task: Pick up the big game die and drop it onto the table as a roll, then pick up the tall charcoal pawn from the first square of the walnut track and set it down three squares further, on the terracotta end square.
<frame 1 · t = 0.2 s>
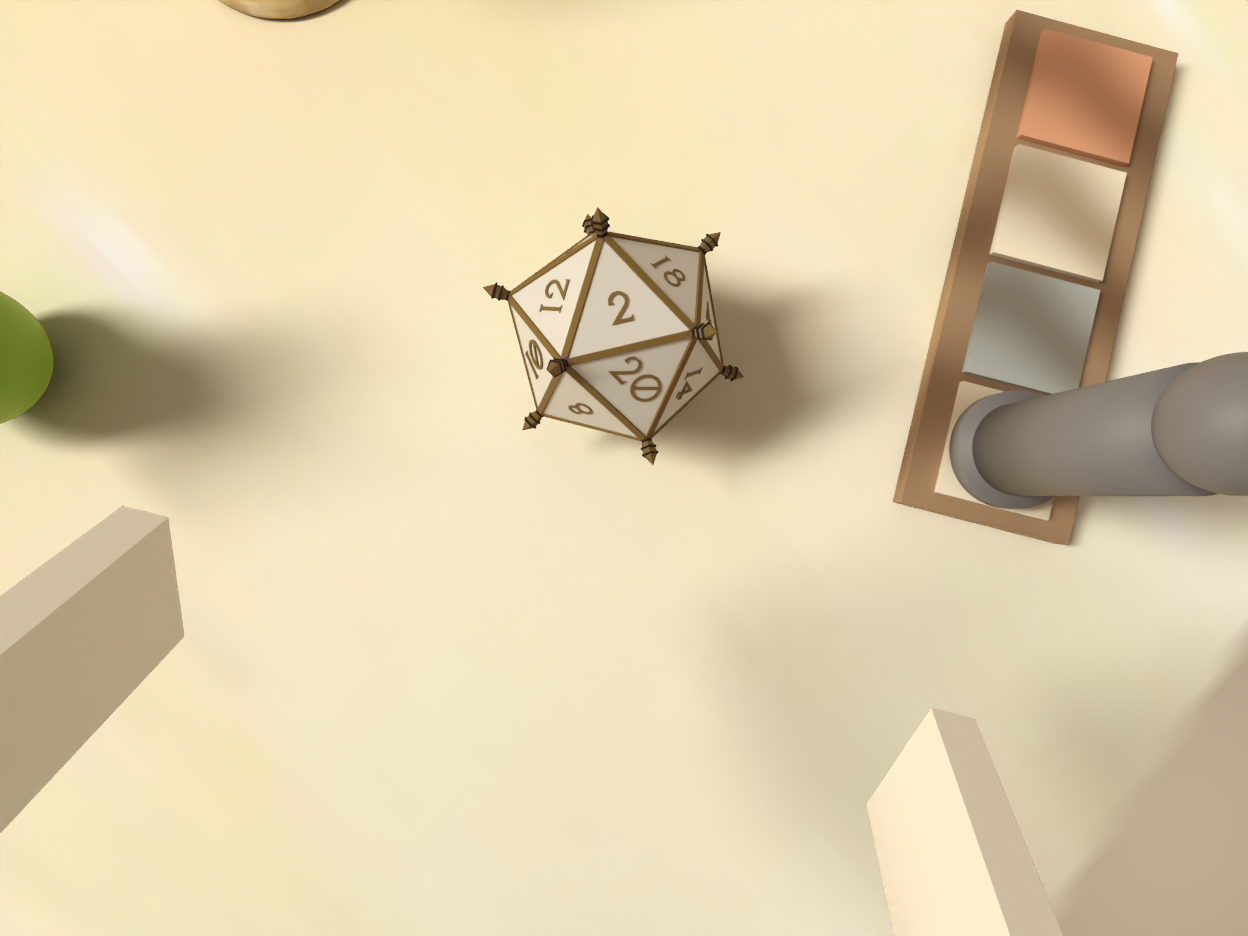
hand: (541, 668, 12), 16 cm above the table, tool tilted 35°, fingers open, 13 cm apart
snail figurine: (21, 381, 28), on the table
track: (1030, 279, 29), on the table
pawn: (1005, 450, 28), point 1 cm above the table, touching track
game die: (616, 357, 29), on the table
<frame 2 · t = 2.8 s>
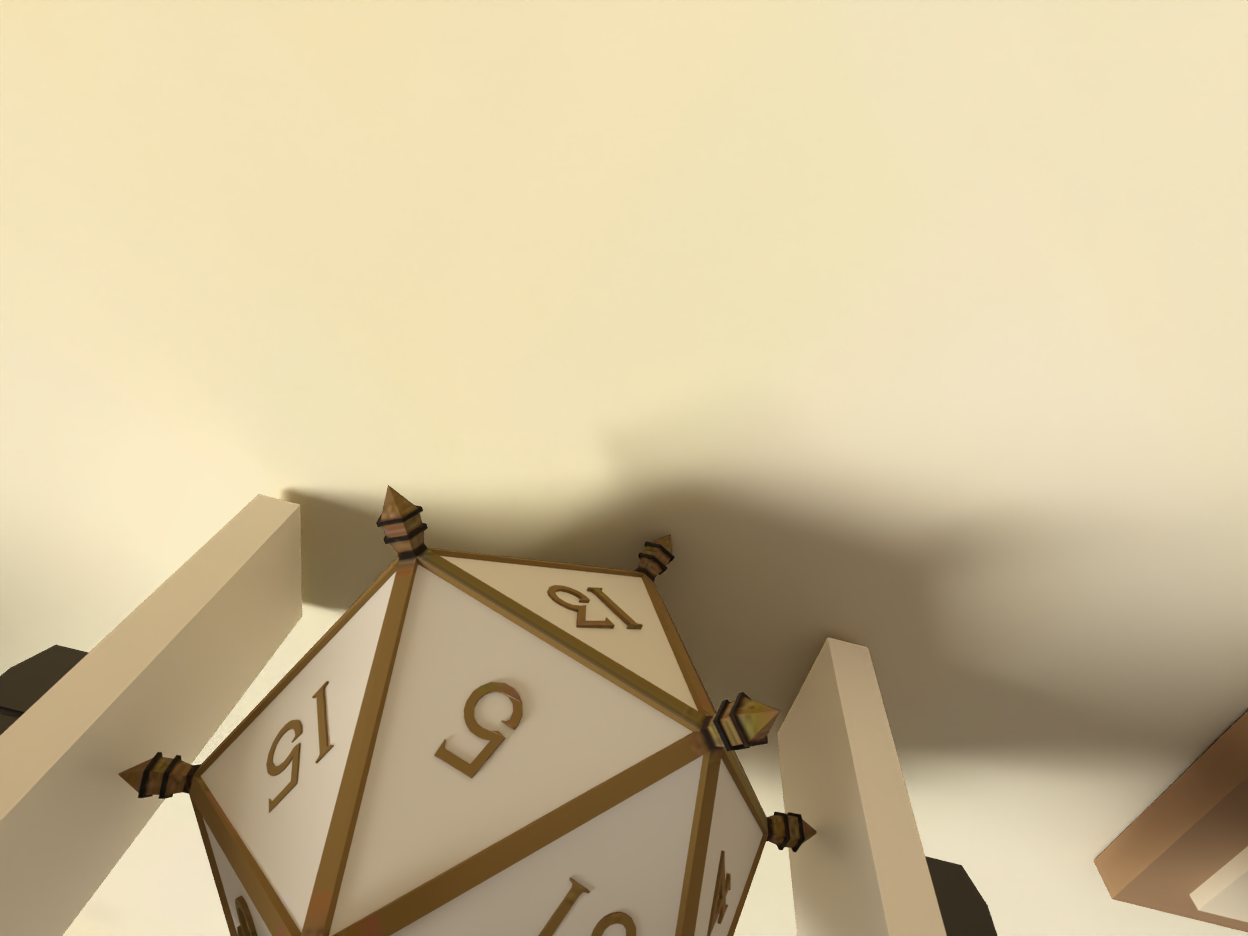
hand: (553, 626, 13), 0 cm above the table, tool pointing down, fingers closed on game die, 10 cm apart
game die: (557, 611, 13), on the table, touching gripper
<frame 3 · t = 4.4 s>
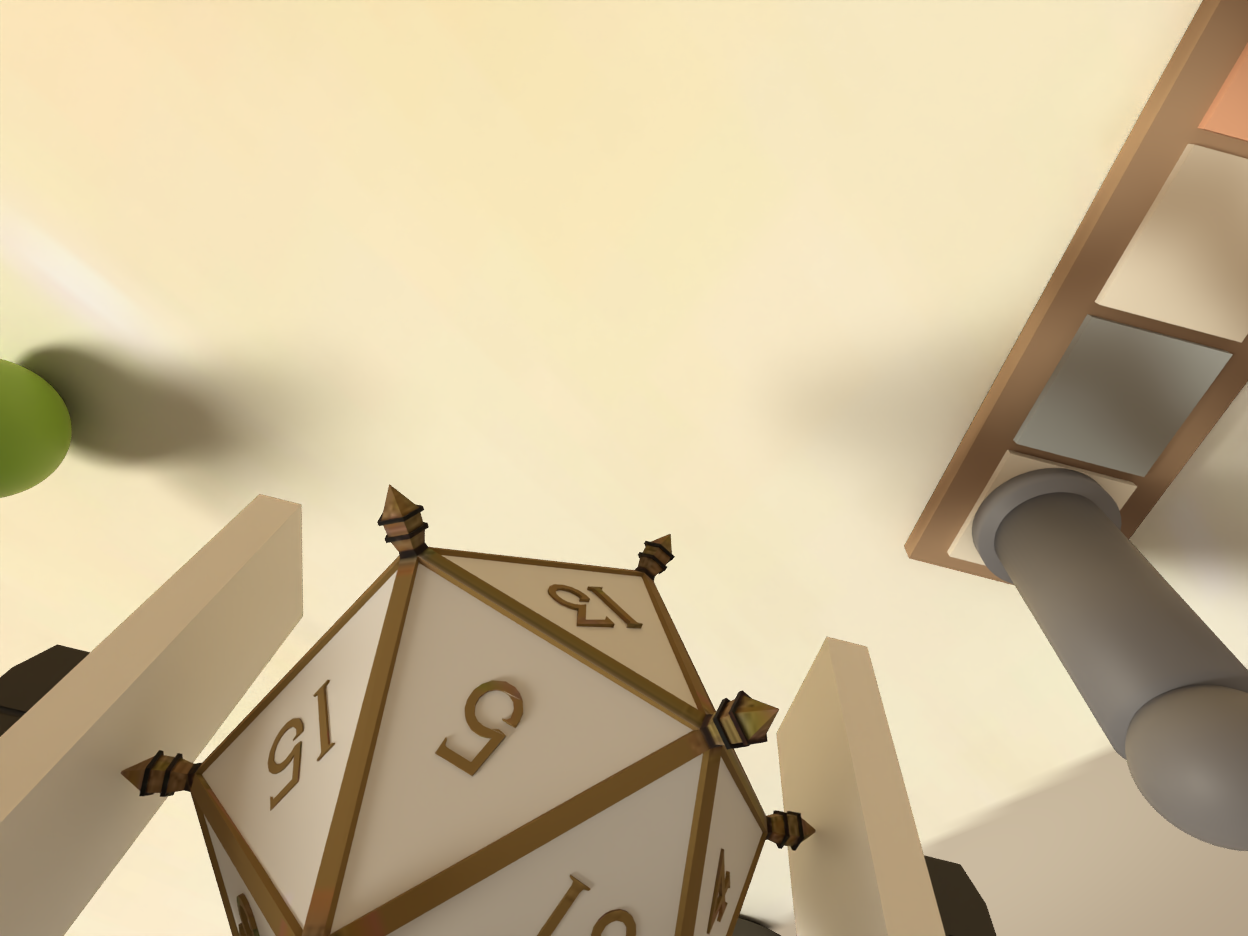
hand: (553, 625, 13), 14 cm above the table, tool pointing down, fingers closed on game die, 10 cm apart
snail figurine: (47, 408, 29), on the table
track: (1147, 319, 22), on the table
pawn: (1039, 523, 25), point 1 cm above the table, touching track
game die: (557, 610, 13), point 13 cm above the table, touching gripper
when the fingers open (6 cm above the table, at t = 5.9 s): game die drops 6 cm, on the table.
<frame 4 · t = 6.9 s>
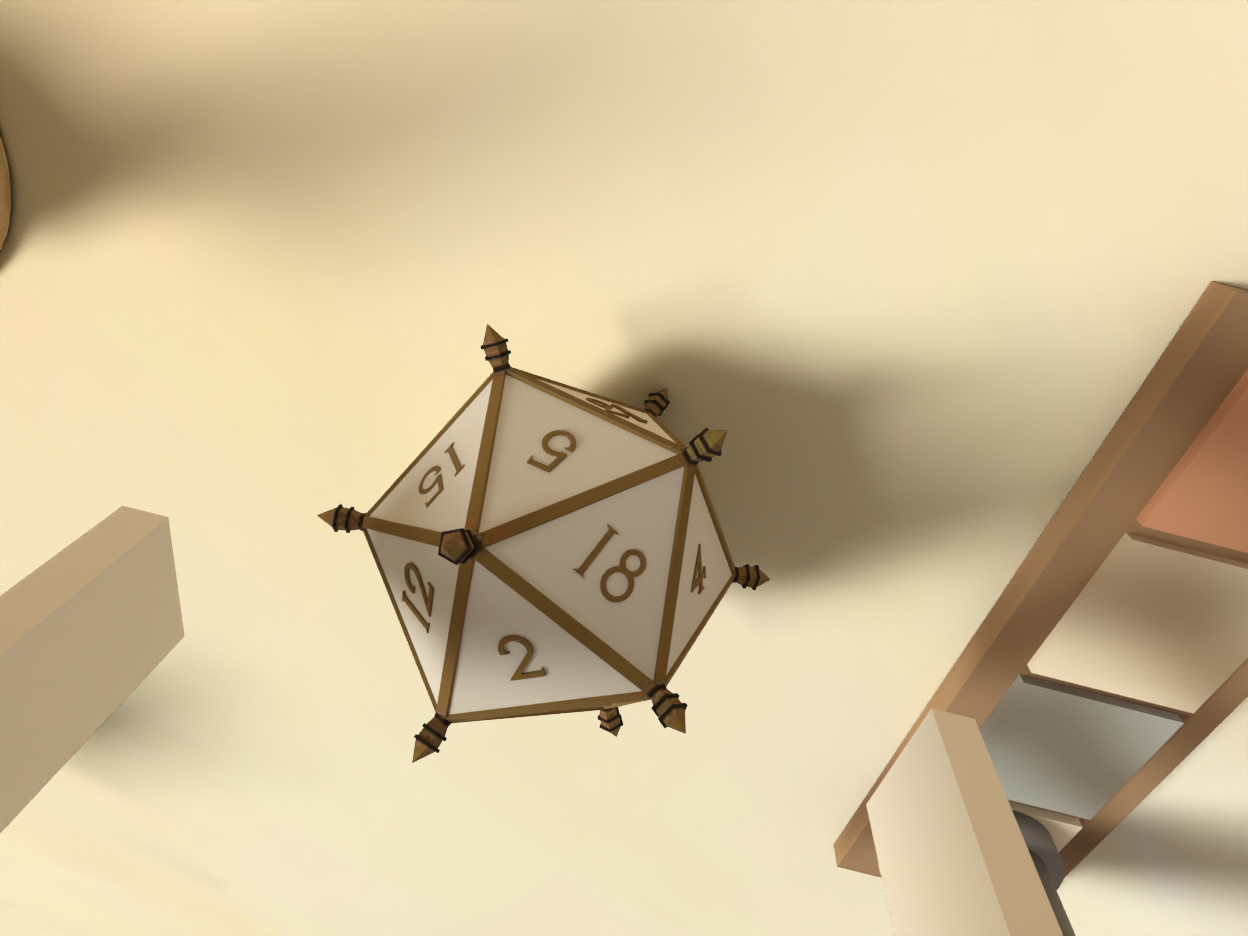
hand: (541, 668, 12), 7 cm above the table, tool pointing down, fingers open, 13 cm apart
track: (1089, 668, 20), on the table
pawn: (976, 851, 23), point 1 cm above the table, touching track
game die: (587, 457, 18), on the table
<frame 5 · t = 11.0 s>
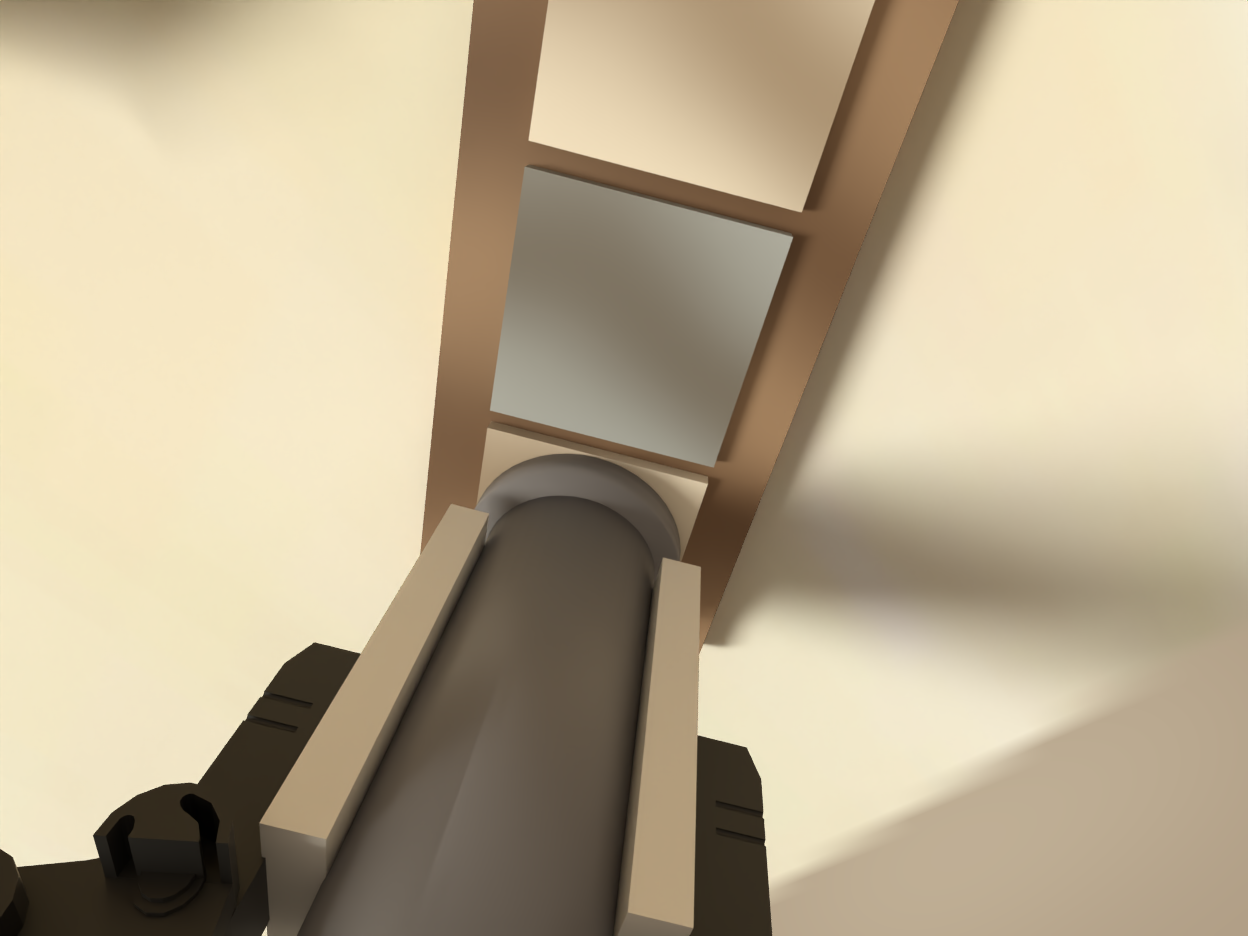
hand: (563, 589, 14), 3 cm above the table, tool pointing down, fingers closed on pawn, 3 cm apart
track: (666, 180, 12), on the table
pawn: (575, 546, 15), point 1 cm above the table, touching gripper
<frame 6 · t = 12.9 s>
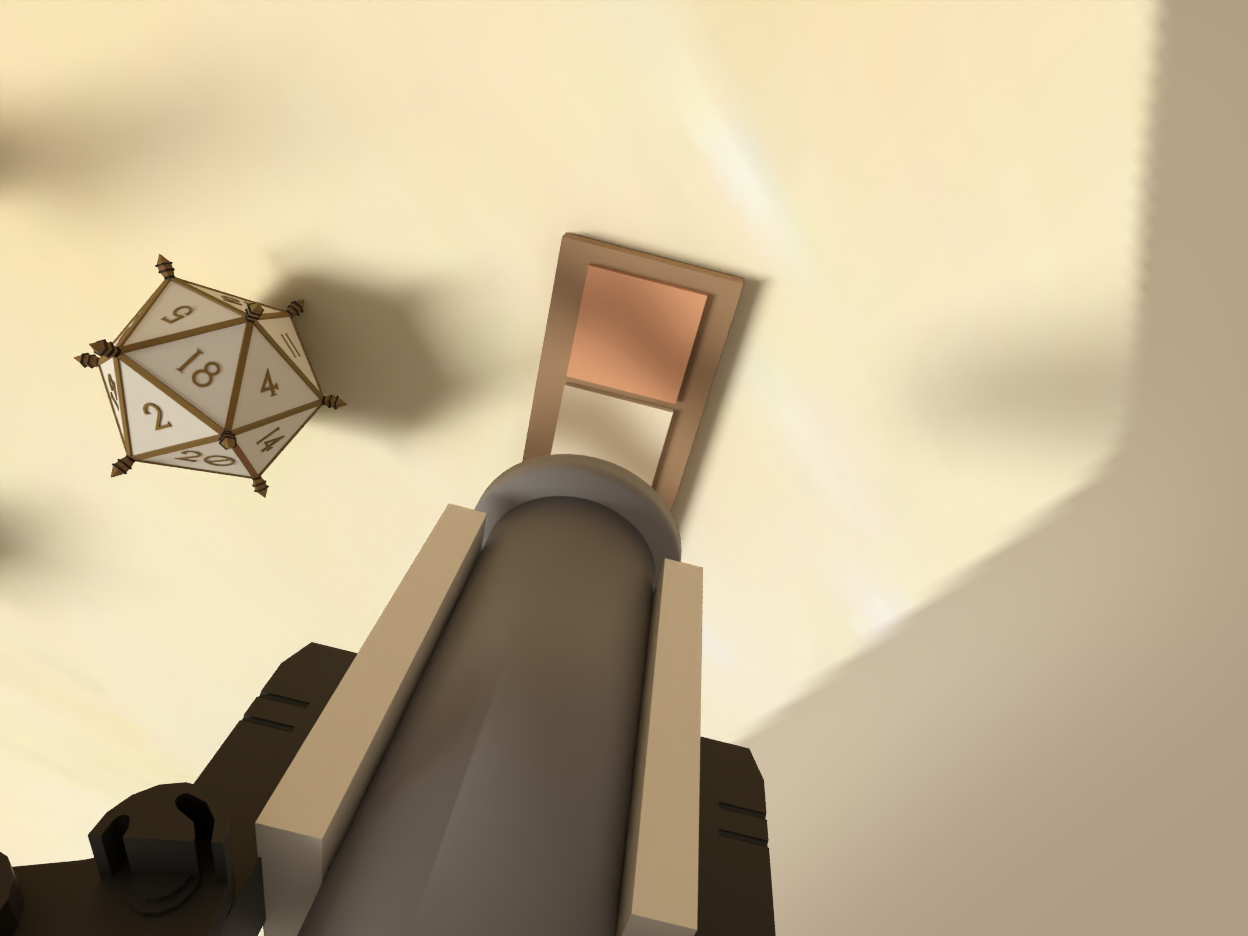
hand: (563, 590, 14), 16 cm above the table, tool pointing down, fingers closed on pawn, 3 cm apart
track: (598, 481, 32), on the table
pawn: (575, 546, 15), point 15 cm above the table, touching gripper
game die: (272, 346, 31), on the table
when the fingers open (4 cm above the table, at t = 15.3 s): pawn drops 2 cm, resting on track.
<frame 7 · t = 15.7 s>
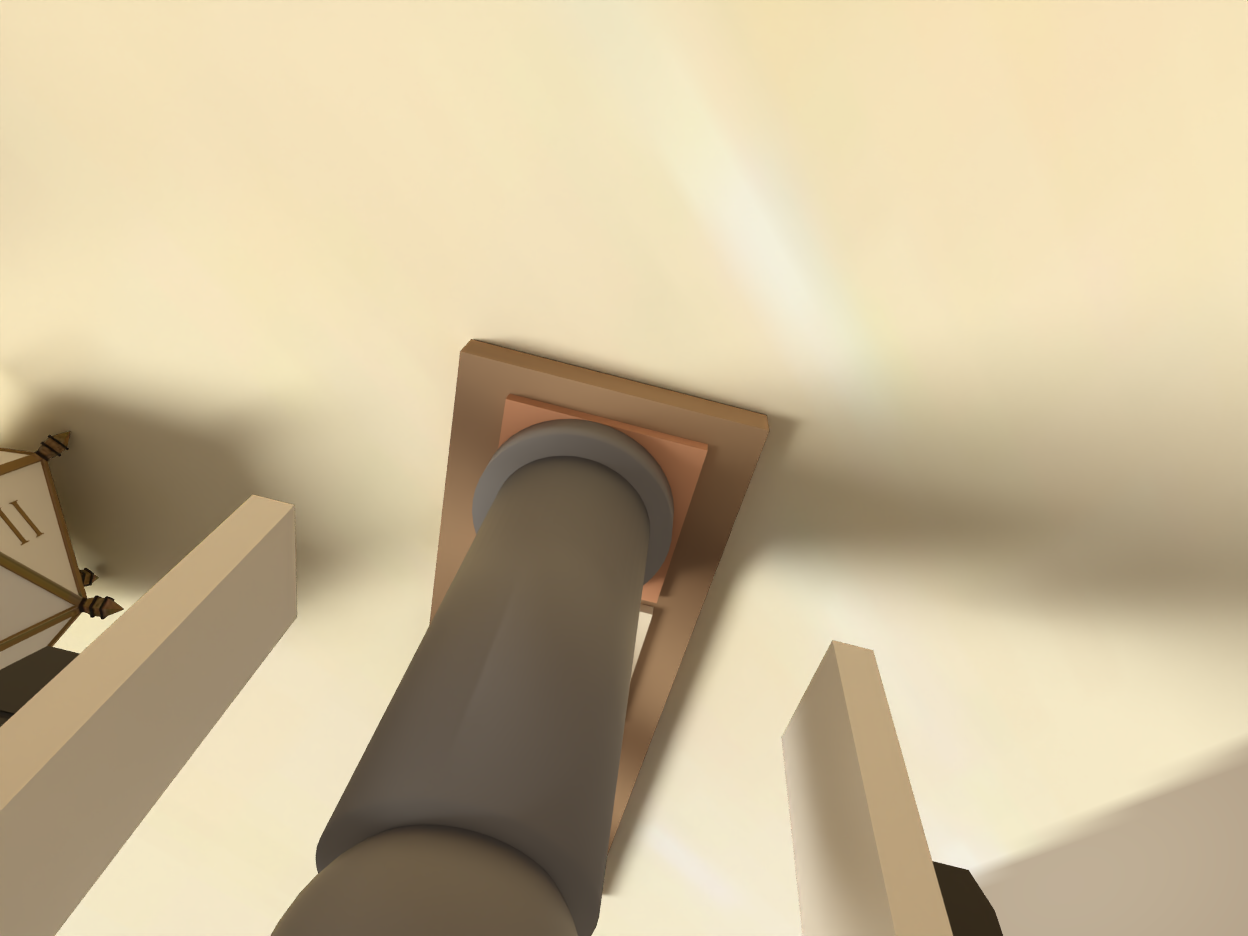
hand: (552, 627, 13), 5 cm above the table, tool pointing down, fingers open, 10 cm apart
track: (544, 686, 21), on the table
pawn: (577, 506, 16), point 1 cm above the table, touching track
game die: (39, 491, 20), on the table
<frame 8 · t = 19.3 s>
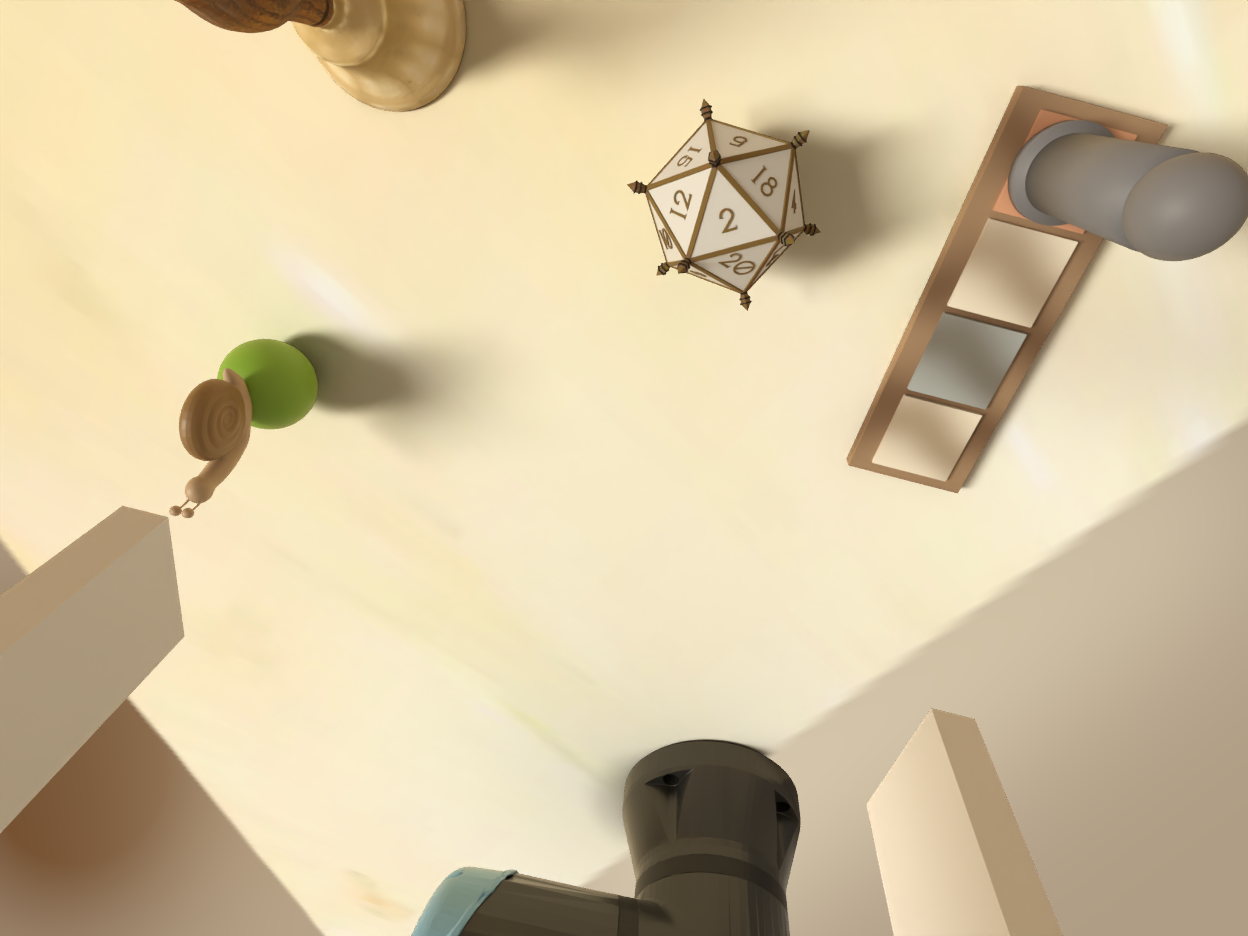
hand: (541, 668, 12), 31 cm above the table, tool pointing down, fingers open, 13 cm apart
hand bell: (386, 17, 34), on the table
snail figurine: (294, 373, 45), on the table
track: (981, 314, 38), on the table
pawn: (1059, 172, 33), point 1 cm above the table, touching track
game die: (724, 195, 37), on the table
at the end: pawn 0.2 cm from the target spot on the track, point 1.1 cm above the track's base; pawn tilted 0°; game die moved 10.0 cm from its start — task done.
